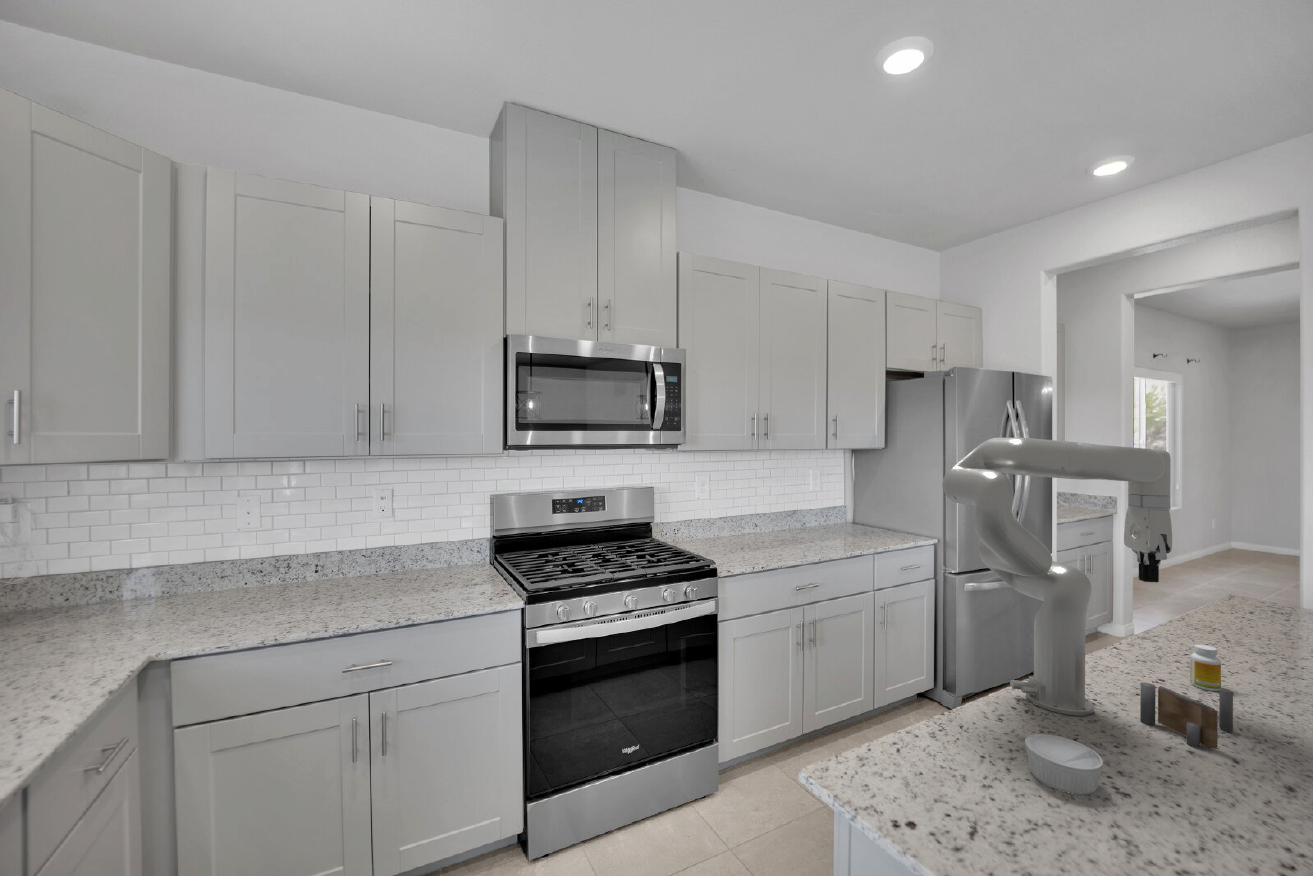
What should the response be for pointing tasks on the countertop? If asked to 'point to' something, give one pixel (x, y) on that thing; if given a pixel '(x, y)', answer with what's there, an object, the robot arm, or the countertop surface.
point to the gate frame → (1149, 714)
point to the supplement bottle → (1205, 668)
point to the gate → (1187, 715)
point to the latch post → (1226, 710)
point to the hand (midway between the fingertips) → (1148, 581)
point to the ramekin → (1063, 763)
